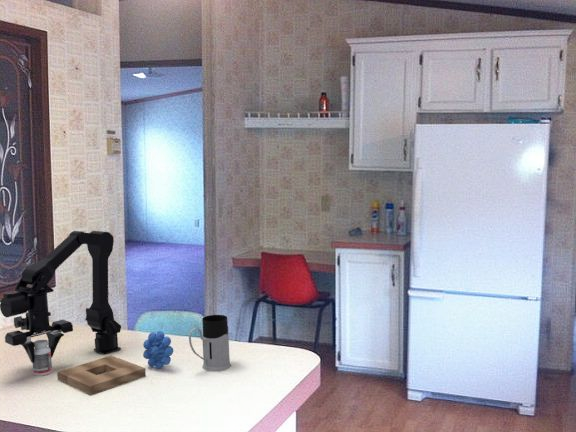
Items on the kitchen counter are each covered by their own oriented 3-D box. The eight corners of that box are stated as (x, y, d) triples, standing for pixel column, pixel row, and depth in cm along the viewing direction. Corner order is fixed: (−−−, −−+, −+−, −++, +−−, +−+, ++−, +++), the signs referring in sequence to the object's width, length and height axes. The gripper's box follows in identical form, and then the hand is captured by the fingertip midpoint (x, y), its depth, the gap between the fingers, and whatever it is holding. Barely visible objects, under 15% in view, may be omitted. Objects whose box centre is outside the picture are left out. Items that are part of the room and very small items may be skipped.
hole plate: (111, 363, 205) (111, 355, 204) (145, 376, 192) (145, 368, 192) (57, 379, 191) (57, 371, 191) (90, 395, 179) (90, 386, 179)
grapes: (183, 367, 199) (181, 329, 197) (168, 375, 193) (166, 335, 191) (154, 361, 205) (152, 324, 203) (139, 368, 199) (136, 330, 198)
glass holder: (237, 365, 199) (235, 317, 198) (200, 379, 189) (198, 328, 187) (218, 359, 205) (216, 312, 204) (181, 372, 195) (179, 323, 193)
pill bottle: (54, 373, 197) (52, 341, 196) (35, 377, 194) (33, 345, 193) (49, 368, 201) (47, 337, 200) (31, 372, 198) (28, 341, 197)
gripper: (54, 298, 207) (57, 346, 209) (-6, 311, 194) (-1, 362, 196) (72, 304, 200) (75, 353, 202) (11, 318, 186) (16, 371, 188)
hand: (41, 360), depth 197 cm, fingers closed on pill bottle, 5 cm apart
